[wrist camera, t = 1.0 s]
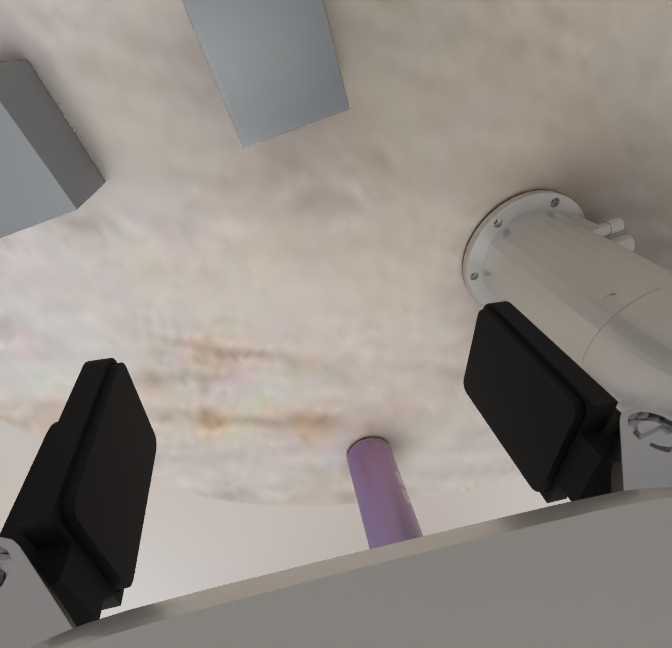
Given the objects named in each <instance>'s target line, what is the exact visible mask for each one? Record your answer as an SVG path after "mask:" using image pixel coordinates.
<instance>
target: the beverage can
mask: <svg viewBox="0 0 672 648" xmlns="http://www.w3.org/2000/svg"><path fill="white" fill-rule="evenodd" d="M347 461H348V465H349V469H350V473H351V477H352V481H353V485H354V489H355V493H356V497H357V501H358V505H359V509H360V513H361V516H362V521H363V524H364V528H365V532H366V536H367V540H368V544H369V548H370V549H373V548H377V547H381V546H386V545H390V544H394V543H398V542H402V541H406V540H410V539H415V538H419V537H423V534H422V532H421V529H420V526H419V524H418V521H417V518H416V516H415V513H414V510H413V507H412V505H411V502H410V499H409V496H408V494H407V491H406V488H405V486H404V483H403V480H402V478H401V475H400V472H399V469H398V467H397V464H396V461H395V459H394V456H393V453H392V451H391V448H390V446H389V444H388V443H386V442H385V441H383V440H382V439H379V438H366V439H363V440H360V441H358V442H357V443H355V444H354V445H353V446H352V447H351V449H350V451H349V453H348V456H347Z"/></svg>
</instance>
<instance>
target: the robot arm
mask: <svg viewBox="0 0 672 648" xmlns="http://www.w3.org/2000/svg"><path fill="white" fill-rule="evenodd" d="M624 227H625V225H624V221H623V219H622V218H620V217H615V218H612V219H610V220H607V221H604V222H603V223H601V224H598V225H597V224H595V223H592V222H590V221H588V220H586V219H585V216H584V213H583V211H582V210H581V208H580V207H579V205H578V204H577V203H576V202H574V201H573V200H572V199H571V198H569V197H567V196H565V195H563V194H561V193H557V192H554V191H547V190H537V191H531V192H526V193H524V194H521V195H518V196H515V197H513V198H512V199H510V200H508V201H506V202H504V203H503V204H501V205H500V206H499V207H498V208H496V209H495V210H494V211H492V212H491V213H490V214H489V215H488V216H487V217H486V218H485V219H484V220H483V221H482V223H481V224H480V225H479V227H478V228H477V230H476V231H475V232H474V234H473V236H472V238H471V240H470V242H469V243H468V246H467V249H466V252H465V255H464V261H463V278H464V281H465V285H466V287H467V289H468V290H469V292H470V294H471V295H472V296H473V297H474V298H475V299H476V300H477V301H478V302H479V303H481V304H482V305H483V306H484V308H483V309H482V310H480V311H479V313H478V317H477V321H476V326H475V330H474V335H473V340H472V344H471V349H470V353H469V358H468V362H467V367H466V372H465V376H464V388H465V391H466V393H467V394H468V396H469V397H470V399H471V400H472V402H473V403H474V405H475V406H476V407H477V409H478V410H479V412H480V413H481V415H482V416H483V418H484V419H485V421H486V422H487V424H488V425H489V426H490V428H491V429H492V431H493V432H494V434H495V435H496V437H497V438H498V440H499V441H500V443H501V444H502V446H503V447H504V448H505V450H506V451H507V453H508V454H509V456H510V457H511V459H512V460H513V462H514V463H515V465H516V466H517V467H518V469H519V470H520V472H521V473H522V475H523V476H524V478H525V479H526V481H527V482H528V484H529V485H530V486H531V488H532V489H533V490H535V491H537V492H540V493H541V495H542V496H543V498H544V499H545V501H546V502H547V503H550V502H554V501H558V500H562V499H566V498H567V496H568V497H569V499H570V500H571V501H572V502H567V503H563V504H558V505H554V506H549V507H545V508H541V509H537V510H532V511H528V512H524V513H520V514H516V515H511V516H507V517H503V518H498V519H494V520H490V521H486V522H482V523H477V524H473V525H469V526H464V527H460V528H456V529H452V530H448V531H444V532H440V533H435V534H432V535H427V536H423V537H419V538H415V539H410V540H406V541H402V542H398V543H394V544H390V545H386V546H381V547H377V548H373V549H369V550H365V551H361V552H357V553H353V554H349V555H345V556H340V557H336V558H332V559H328V560H324V561H320V562H316V563H312V564H308V565H303V566H300V567H295V568H292V569H288V570H283V571H279V572H275V573H271V574H267V575H263V576H259V577H255V578H251V579H247V580H243V581H239V582H235V583H231V584H227V585H223V586H219V587H215V588H211V589H207V590H203V591H199V592H195V593H192V594H188V595H184V596H180V597H176V598H173V599H169V600H165V601H161V602H158V603H154V604H150V605H146V606H142V607H139V608H135V609H131V610H128V611H124V612H121V613H118V614H115V615H112V616H109V617H105V618H102V619H100V614H101V610H104V609H108V608H112V607H117V606H120V605H121V602H122V597H123V592H124V588H128V587H130V586H131V585H132V582H133V578H134V573H135V568H136V562H137V556H138V550H139V545H140V539H141V533H142V528H143V522H144V516H145V511H146V505H147V499H148V493H149V487H150V482H151V476H152V471H153V465H154V459H155V454H156V437H155V434H154V431H153V429H152V427H151V424H150V422H149V420H148V417H147V415H146V413H145V410H144V408H143V406H142V403H141V401H140V398H139V396H138V394H137V391H136V389H135V387H134V384H133V382H132V380H131V377H130V375H129V372H128V370H127V368H126V366H125V364H124V363H117V362H116V360H115V359H114V358H108V359H101V360H94V361H87V362H85V364H84V365H83V367H82V370H81V372H80V374H79V376H78V379H77V381H76V383H75V385H74V387H73V390H72V392H71V394H70V396H69V399H68V401H67V403H66V405H65V408H64V410H63V412H62V414H61V417H60V419H59V421H58V422H55V423H54V424H53V425H51V427H50V428H49V430H48V432H47V434H46V436H45V438H44V440H43V442H42V445H41V447H40V449H39V451H38V454H37V455H36V457H35V460H34V462H33V464H32V466H31V468H30V471H29V473H28V475H27V477H26V479H25V481H24V484H23V486H22V488H21V490H20V492H19V494H18V496H17V499H16V501H15V503H14V505H13V507H12V509H11V511H10V514H9V516H8V518H7V520H6V522H5V524H4V527H3V529H2V531H1V533H0V648H672V272H671V271H669V270H667V269H665V268H663V267H661V266H659V265H657V264H656V263H654V262H652V261H650V260H648V259H646V258H644V257H642V256H640V255H638V254H636V253H634V252H632V251H634V249H635V241H634V239H633V237H632V236H630V235H629V234H623V235H620V236H617V237H614V238H611V239H607V238H605V237H603V236H606V235H611V234H614V233H617V232H619V231H622V230H623V229H624Z"/></svg>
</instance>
